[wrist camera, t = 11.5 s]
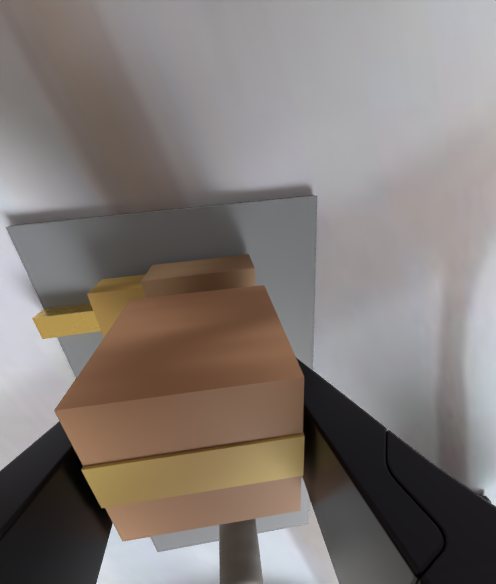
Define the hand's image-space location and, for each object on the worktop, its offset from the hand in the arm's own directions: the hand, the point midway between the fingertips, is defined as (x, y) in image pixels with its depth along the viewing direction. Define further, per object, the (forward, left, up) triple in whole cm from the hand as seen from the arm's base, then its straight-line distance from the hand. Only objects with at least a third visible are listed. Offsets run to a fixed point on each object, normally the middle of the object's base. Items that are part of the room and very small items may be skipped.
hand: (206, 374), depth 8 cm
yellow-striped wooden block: (0, 0, -1) cm, 1 cm away
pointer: (+6, 0, -5) cm, 8 cm away
